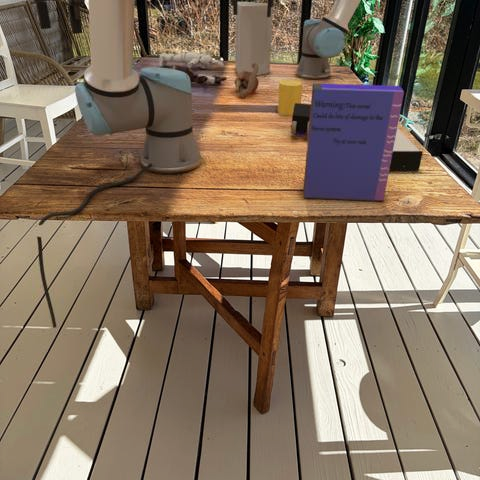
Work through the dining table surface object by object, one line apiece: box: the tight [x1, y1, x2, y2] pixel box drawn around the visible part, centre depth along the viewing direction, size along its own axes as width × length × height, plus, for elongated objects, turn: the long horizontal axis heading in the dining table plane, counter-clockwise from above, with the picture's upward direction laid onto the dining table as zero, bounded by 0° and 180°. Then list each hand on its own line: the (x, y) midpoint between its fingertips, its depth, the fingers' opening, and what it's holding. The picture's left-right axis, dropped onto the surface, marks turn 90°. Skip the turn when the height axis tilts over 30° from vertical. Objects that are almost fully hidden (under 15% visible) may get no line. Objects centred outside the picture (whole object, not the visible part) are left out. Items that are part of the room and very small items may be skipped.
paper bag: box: [234, 1, 274, 77], centre depth 210 cm, size 19×15×28 cm
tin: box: [277, 79, 304, 116], centre depth 162 cm, size 8×8×10 cm
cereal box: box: [302, 83, 405, 202], centre depth 102 cm, size 17×5×24 cm, turn 86°
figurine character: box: [290, 103, 311, 140], centre depth 143 cm, size 7×8×15 cm
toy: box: [158, 51, 225, 70], centre depth 222 cm, size 24×25×7 cm
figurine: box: [172, 64, 228, 85], centre depth 193 cm, size 24×8×30 cm
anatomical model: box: [234, 63, 260, 99], centre depth 181 cm, size 13×9×15 cm
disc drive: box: [389, 127, 424, 172], centre depth 128 cm, size 18×22×5 cm
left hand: (61, 31), depth 128 cm, fingers open, 13 cm apart
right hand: (251, 15), depth 185 cm, fingers open, 13 cm apart
